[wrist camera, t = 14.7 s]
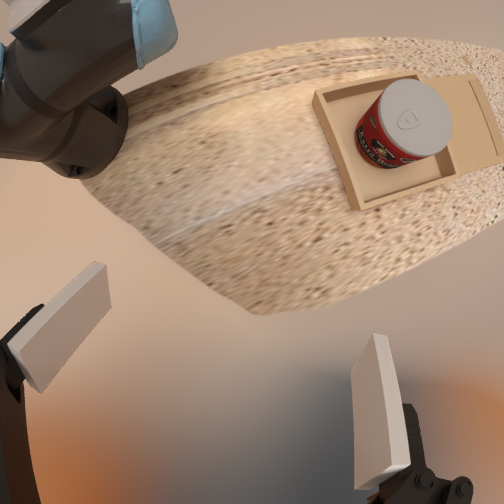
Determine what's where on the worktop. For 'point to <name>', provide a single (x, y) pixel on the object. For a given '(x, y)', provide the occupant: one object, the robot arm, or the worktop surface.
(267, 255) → the worktop surface
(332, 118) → the mailer box
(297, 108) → the worktop surface
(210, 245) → the worktop surface
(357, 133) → the canned food
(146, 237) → the worktop surface
